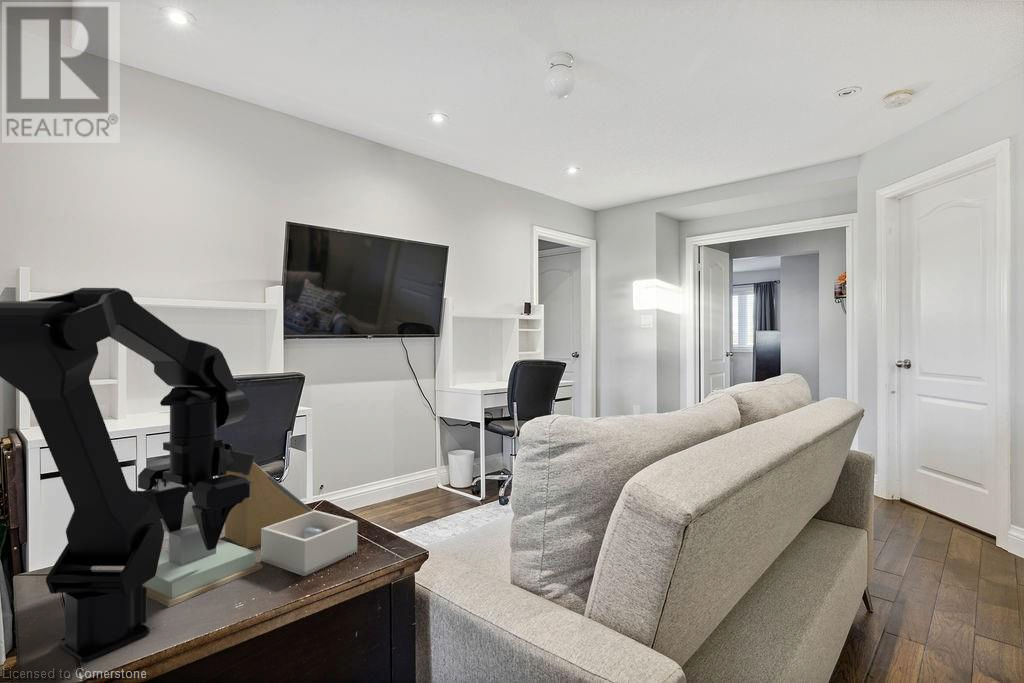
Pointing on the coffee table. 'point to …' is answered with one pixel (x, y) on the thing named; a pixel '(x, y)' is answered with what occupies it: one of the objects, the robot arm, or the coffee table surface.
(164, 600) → the cork mat
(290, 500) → the wooden ramp
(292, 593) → the coffee table surface
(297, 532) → the storage box
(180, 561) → the lid
